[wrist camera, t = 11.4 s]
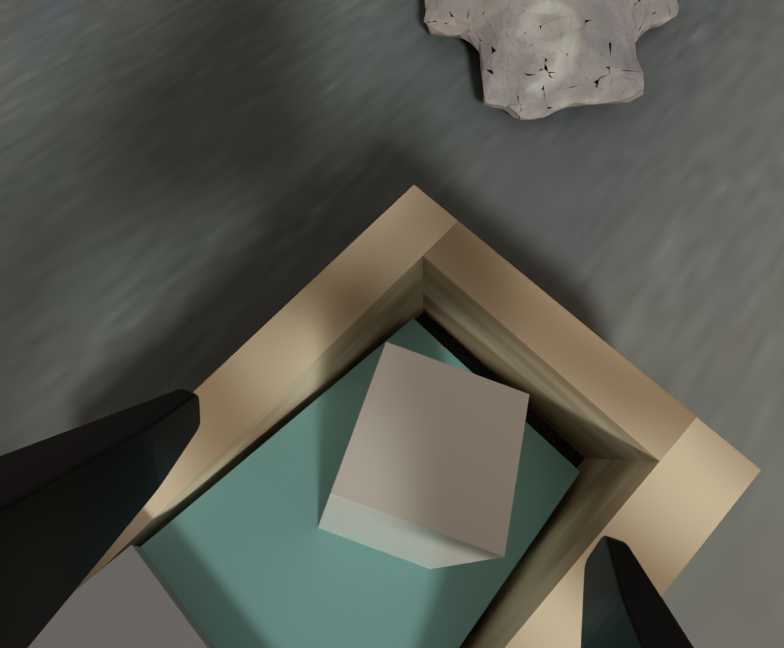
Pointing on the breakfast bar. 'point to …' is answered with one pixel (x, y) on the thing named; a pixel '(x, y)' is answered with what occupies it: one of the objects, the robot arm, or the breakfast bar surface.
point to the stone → (552, 49)
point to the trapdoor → (299, 552)
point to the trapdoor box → (513, 369)
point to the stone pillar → (430, 463)
